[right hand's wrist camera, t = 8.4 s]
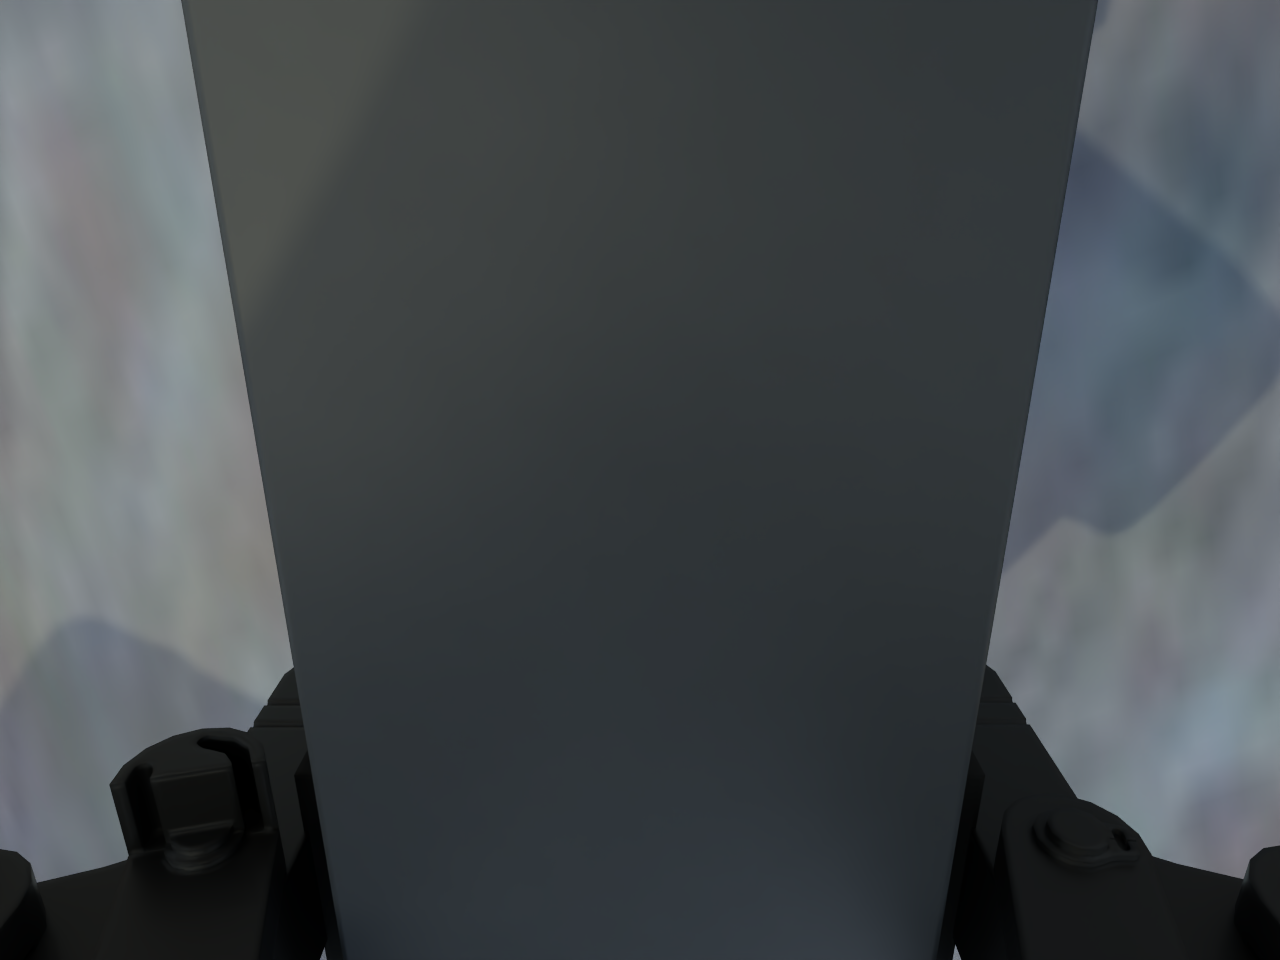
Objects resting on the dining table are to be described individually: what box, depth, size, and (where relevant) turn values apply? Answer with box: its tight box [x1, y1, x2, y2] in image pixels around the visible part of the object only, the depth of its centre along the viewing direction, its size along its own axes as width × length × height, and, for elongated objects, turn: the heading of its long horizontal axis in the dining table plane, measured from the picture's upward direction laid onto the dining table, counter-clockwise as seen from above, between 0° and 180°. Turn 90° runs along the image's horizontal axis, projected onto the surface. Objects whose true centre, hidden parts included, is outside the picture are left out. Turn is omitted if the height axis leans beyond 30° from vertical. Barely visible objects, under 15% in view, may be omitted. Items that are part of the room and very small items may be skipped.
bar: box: [181, 0, 1098, 960], centre depth 9 cm, size 22×5×8 cm, turn 0°
